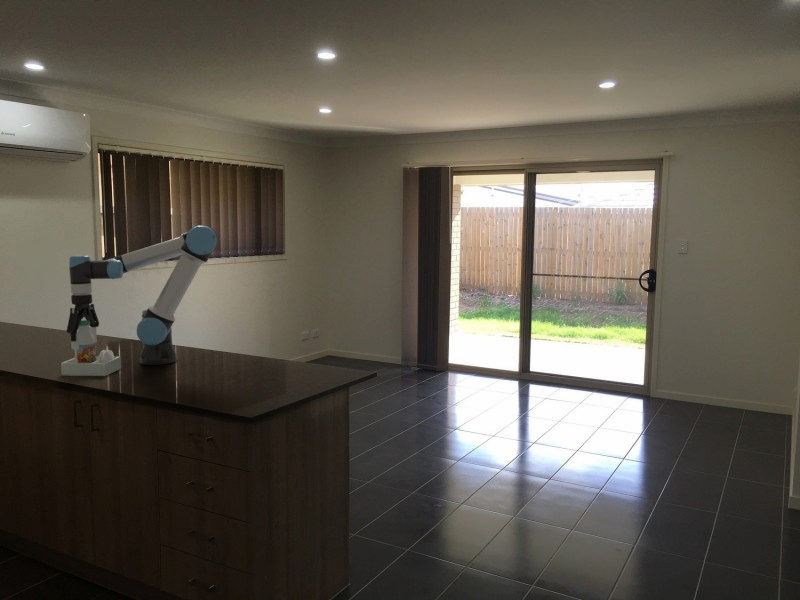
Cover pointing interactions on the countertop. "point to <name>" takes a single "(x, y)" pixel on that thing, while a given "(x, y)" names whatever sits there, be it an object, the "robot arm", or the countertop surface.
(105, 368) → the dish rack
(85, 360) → the milk bottle
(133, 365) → the countertop surface
